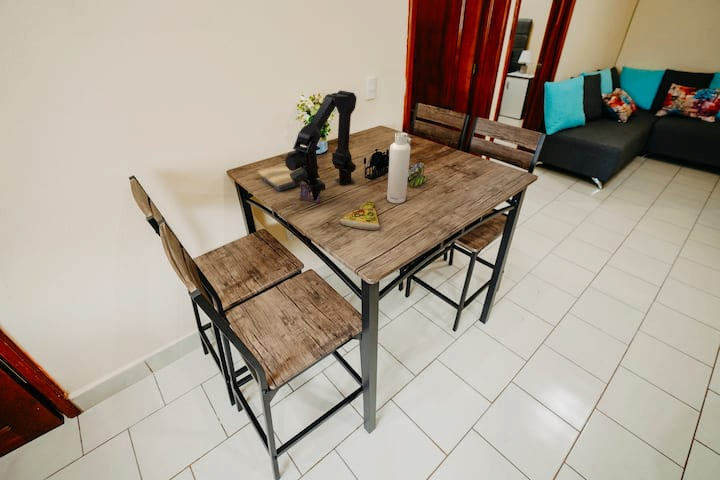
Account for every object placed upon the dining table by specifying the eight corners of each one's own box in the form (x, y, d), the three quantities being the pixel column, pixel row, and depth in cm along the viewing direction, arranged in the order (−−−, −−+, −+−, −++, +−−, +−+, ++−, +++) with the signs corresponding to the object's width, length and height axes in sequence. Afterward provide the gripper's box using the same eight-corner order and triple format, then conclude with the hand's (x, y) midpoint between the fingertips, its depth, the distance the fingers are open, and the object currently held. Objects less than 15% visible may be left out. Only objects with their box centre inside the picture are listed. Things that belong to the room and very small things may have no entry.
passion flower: (407, 190, 163) (407, 165, 163) (429, 189, 159) (430, 164, 159) (402, 186, 152) (402, 160, 152) (426, 185, 149) (426, 158, 149)
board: (303, 179, 153) (303, 177, 153) (278, 187, 147) (277, 185, 146) (281, 165, 166) (281, 163, 165) (257, 172, 159) (256, 170, 158)
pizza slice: (338, 226, 128) (338, 219, 126) (354, 200, 144) (354, 194, 142) (378, 232, 124) (378, 225, 123) (389, 205, 141) (390, 199, 139)
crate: (298, 184, 156) (298, 178, 154) (279, 191, 150) (278, 185, 149) (281, 173, 165) (280, 167, 164) (263, 179, 160) (262, 173, 158)
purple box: (300, 183, 142) (319, 186, 139) (305, 182, 146) (324, 185, 144) (299, 199, 144) (318, 202, 142) (304, 197, 148) (323, 200, 146)
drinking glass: (411, 158, 181) (413, 140, 175) (400, 160, 179) (401, 141, 173) (405, 153, 186) (407, 136, 180) (394, 155, 184) (396, 137, 178)
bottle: (383, 195, 147) (387, 132, 131) (400, 192, 150) (405, 129, 133) (391, 204, 141) (396, 139, 125) (409, 201, 143) (415, 136, 127)
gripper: (284, 157, 139) (289, 191, 148) (296, 175, 125) (300, 211, 134) (310, 153, 143) (313, 186, 152) (324, 170, 129) (327, 205, 138)
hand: (312, 197), depth 144 cm, fingers closed on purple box, 5 cm apart
